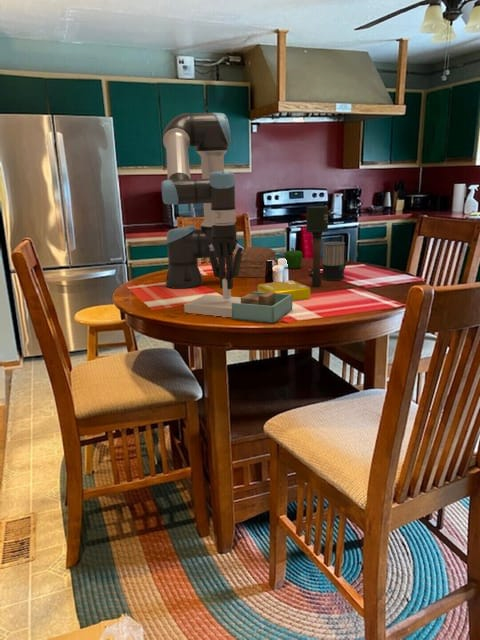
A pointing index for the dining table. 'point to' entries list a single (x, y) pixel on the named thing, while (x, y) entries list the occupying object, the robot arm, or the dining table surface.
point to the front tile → (267, 299)
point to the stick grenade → (317, 236)
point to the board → (212, 305)
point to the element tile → (287, 289)
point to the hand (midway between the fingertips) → (227, 298)
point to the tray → (263, 309)
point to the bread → (254, 261)
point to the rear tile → (250, 299)
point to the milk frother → (333, 261)
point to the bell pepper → (293, 258)
